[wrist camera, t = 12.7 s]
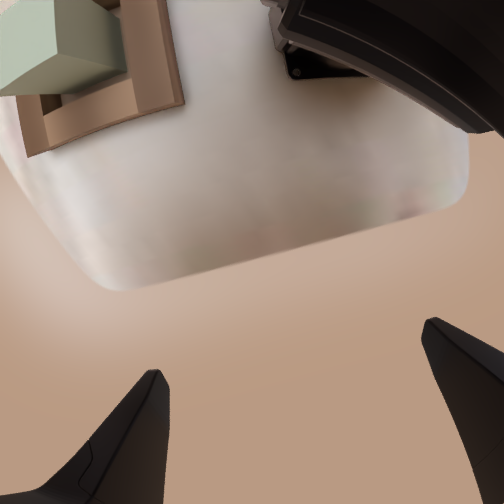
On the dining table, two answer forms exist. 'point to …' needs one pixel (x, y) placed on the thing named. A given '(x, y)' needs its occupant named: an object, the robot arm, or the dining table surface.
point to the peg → (58, 47)
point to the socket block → (111, 83)
